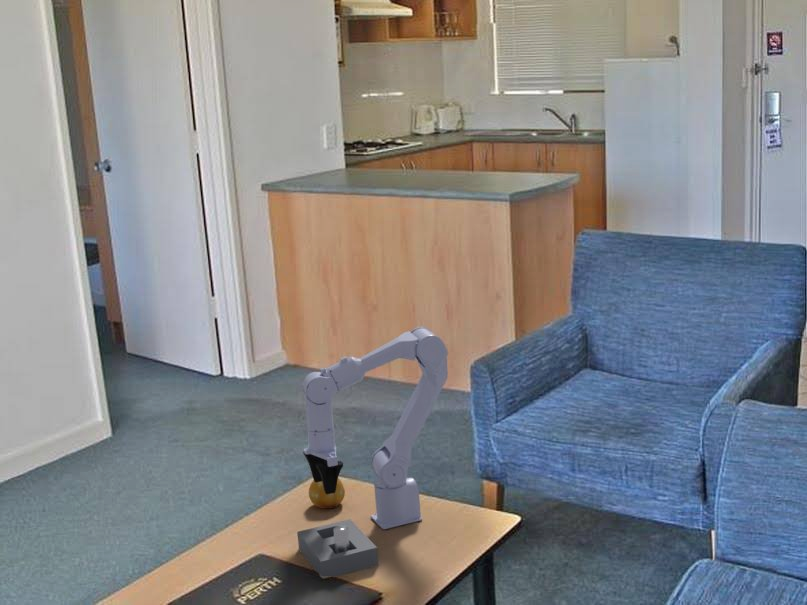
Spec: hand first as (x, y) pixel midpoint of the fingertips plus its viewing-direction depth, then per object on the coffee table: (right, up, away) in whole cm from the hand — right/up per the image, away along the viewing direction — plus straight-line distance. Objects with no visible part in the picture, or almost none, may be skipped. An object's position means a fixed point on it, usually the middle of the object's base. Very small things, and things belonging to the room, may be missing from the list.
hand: (324, 487), depth 229 cm
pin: (+5, -12, -14) cm, 20 cm away
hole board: (+4, -13, -11) cm, 17 cm away
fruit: (0, -7, +17) cm, 18 cm away
